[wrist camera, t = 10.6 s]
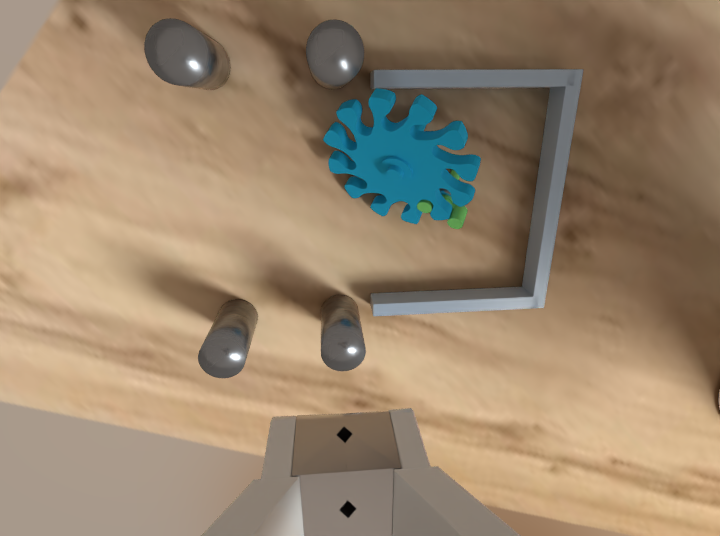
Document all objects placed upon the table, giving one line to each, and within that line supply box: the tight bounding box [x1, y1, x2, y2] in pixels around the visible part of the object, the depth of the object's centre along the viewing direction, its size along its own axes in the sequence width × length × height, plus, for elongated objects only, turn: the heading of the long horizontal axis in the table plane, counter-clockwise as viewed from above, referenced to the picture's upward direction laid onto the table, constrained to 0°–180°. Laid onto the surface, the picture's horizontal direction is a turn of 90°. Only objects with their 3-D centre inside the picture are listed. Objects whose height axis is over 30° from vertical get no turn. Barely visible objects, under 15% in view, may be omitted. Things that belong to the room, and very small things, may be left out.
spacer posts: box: [145, 19, 366, 378], centre depth 27 cm, size 11×21×6 cm, turn 0°
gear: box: [323, 88, 481, 229], centre depth 27 cm, size 11×6×10 cm
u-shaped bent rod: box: [371, 69, 583, 316], centre depth 30 cm, size 14×17×2 cm
